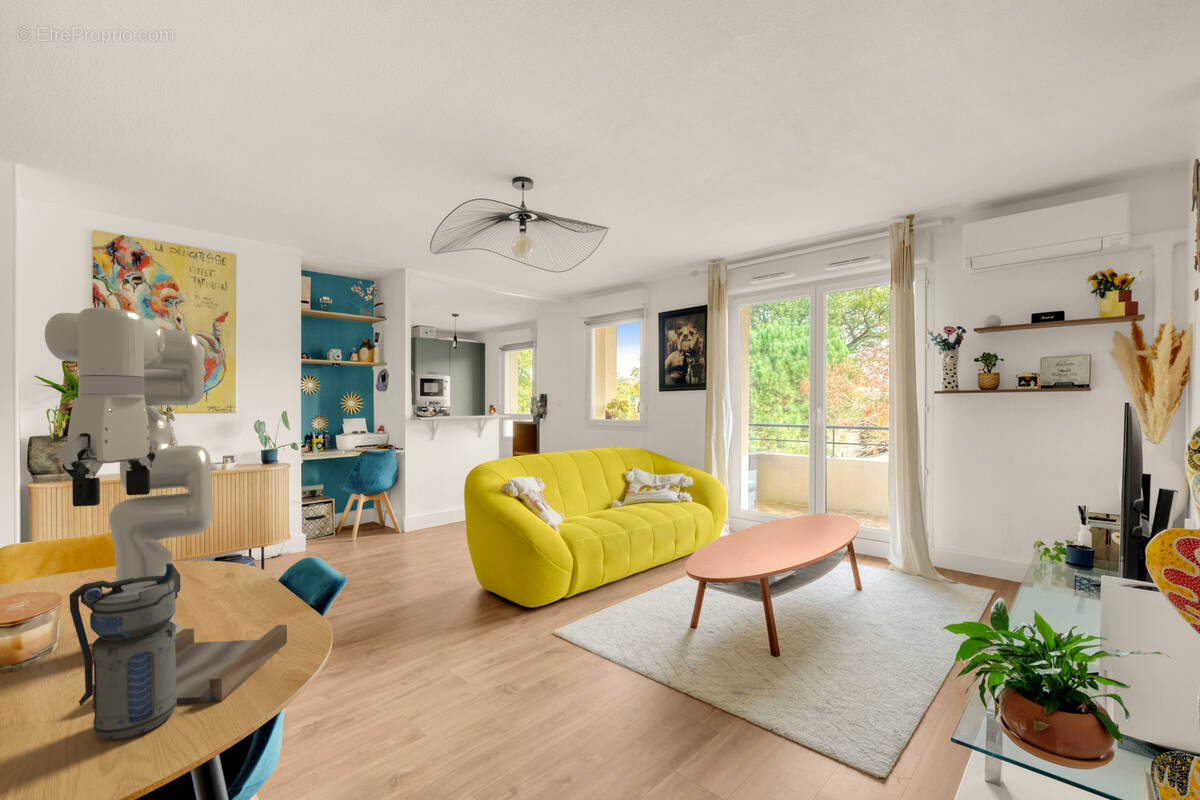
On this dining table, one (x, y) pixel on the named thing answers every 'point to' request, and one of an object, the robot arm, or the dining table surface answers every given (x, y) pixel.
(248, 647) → the u rest
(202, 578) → the dining table surface
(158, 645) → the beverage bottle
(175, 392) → the robot arm
